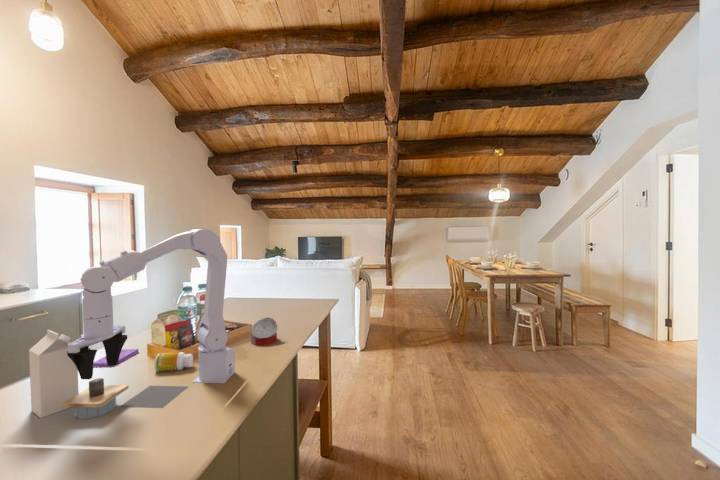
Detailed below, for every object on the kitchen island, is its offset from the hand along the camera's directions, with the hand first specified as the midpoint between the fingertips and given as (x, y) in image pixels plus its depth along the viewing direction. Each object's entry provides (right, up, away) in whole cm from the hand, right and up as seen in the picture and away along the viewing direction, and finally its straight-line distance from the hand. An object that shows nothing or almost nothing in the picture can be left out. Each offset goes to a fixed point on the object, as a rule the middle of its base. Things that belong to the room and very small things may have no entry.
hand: (100, 371), depth 81 cm
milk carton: (-12, -10, +1) cm, 15 cm away
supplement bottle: (0, -6, +22) cm, 23 cm away
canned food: (+26, -8, +50) cm, 57 cm away
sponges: (-20, -9, +32) cm, 39 cm away
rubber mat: (+10, -9, +6) cm, 15 cm away
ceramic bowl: (0, -9, -1) cm, 9 cm away
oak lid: (0, -6, -1) cm, 6 cm away
